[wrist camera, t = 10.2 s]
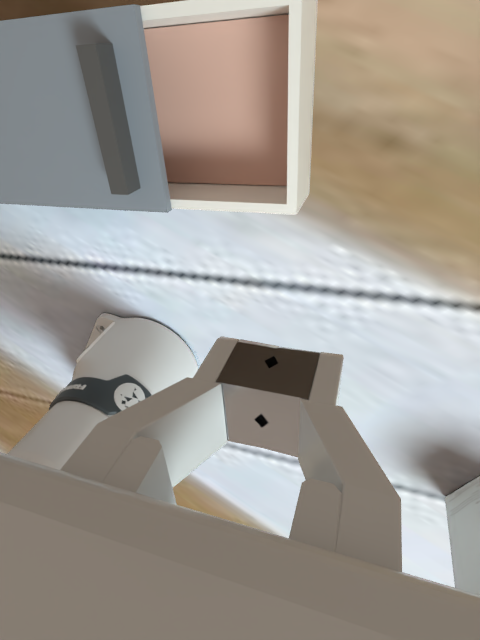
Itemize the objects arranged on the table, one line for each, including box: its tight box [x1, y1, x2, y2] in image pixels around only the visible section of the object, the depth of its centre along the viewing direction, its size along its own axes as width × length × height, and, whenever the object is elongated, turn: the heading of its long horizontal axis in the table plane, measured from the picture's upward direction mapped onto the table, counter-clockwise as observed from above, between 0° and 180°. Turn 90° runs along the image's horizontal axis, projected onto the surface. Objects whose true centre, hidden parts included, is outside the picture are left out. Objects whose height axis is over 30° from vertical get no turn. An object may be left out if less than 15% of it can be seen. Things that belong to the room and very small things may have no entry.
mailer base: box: [140, 0, 318, 215], centre depth 32 cm, size 20×14×6 cm
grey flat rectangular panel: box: [0, 4, 172, 213], centre depth 32 cm, size 20×14×3 cm
